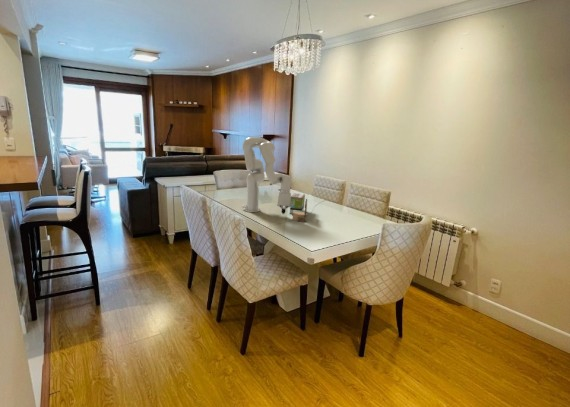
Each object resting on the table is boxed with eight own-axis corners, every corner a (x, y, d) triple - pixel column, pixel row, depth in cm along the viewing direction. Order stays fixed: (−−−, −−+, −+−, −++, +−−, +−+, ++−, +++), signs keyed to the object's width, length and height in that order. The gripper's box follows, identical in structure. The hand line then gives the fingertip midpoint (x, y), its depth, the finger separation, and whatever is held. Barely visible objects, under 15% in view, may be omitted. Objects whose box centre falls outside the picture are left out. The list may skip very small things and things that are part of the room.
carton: (292, 220, 236) (292, 213, 235) (292, 215, 248) (293, 209, 247) (304, 221, 236) (304, 214, 235) (304, 216, 248) (304, 210, 246)
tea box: (301, 215, 250) (302, 197, 247) (289, 213, 252) (290, 196, 249) (304, 210, 265) (305, 193, 261) (292, 209, 267) (293, 192, 263)
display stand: (297, 221, 232) (298, 203, 229) (298, 214, 250) (299, 198, 247) (305, 222, 232) (306, 204, 229) (306, 215, 250) (307, 198, 247)
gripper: (275, 191, 234) (273, 214, 239) (294, 193, 233) (292, 216, 238) (276, 189, 241) (274, 211, 246) (295, 191, 240) (292, 213, 245)
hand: (283, 213), depth 242 cm, fingers closed
